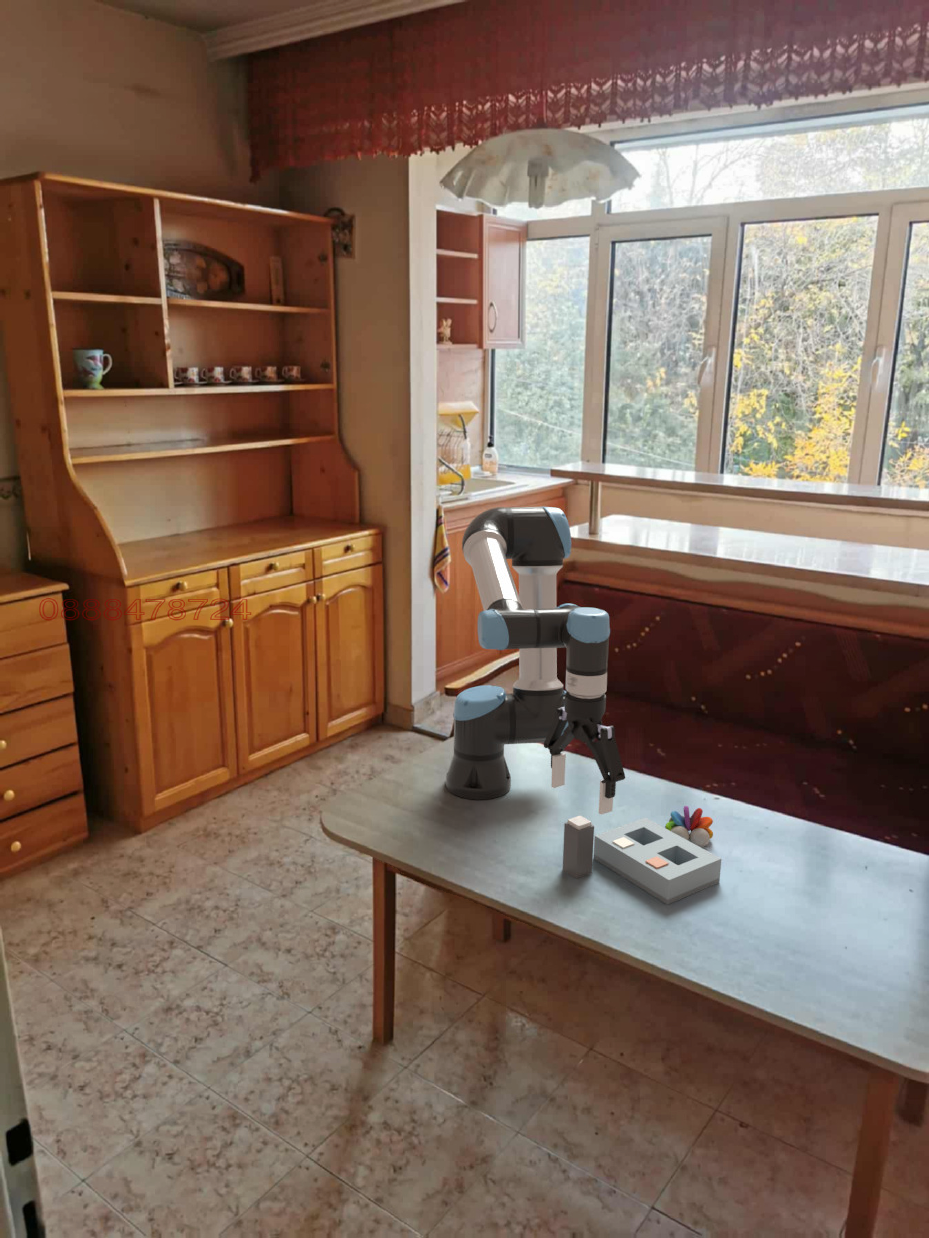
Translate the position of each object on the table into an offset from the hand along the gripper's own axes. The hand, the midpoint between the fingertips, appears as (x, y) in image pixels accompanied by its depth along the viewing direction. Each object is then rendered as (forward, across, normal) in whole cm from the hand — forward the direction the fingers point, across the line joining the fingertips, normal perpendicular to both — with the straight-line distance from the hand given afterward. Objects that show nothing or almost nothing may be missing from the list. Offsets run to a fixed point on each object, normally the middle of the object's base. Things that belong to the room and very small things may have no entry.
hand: (581, 798), depth 177 cm
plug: (+16, 0, 0) cm, 16 cm away
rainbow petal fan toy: (+16, +2, +28) cm, 32 cm away
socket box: (+15, +8, +13) cm, 22 cm away
